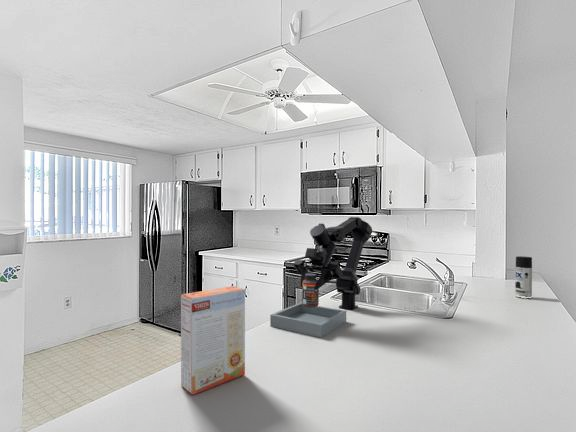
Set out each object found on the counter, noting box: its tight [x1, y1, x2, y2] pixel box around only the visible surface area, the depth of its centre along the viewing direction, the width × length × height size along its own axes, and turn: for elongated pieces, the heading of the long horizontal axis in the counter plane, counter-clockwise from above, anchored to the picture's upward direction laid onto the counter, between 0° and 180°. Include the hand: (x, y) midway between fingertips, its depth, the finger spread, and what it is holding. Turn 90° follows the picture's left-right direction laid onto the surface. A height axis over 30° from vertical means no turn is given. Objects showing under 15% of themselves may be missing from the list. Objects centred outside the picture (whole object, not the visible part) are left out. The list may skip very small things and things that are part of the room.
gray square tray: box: [269, 302, 347, 338], centre depth 120 cm, size 20×20×4 cm
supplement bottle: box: [301, 273, 320, 307], centre depth 119 cm, size 6×6×11 cm
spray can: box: [514, 256, 533, 297], centre depth 164 cm, size 7×7×20 cm
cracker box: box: [180, 285, 246, 396], centre depth 77 cm, size 14×6×21 cm, turn 133°
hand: (308, 287), depth 118 cm, fingers closed on supplement bottle, 6 cm apart
